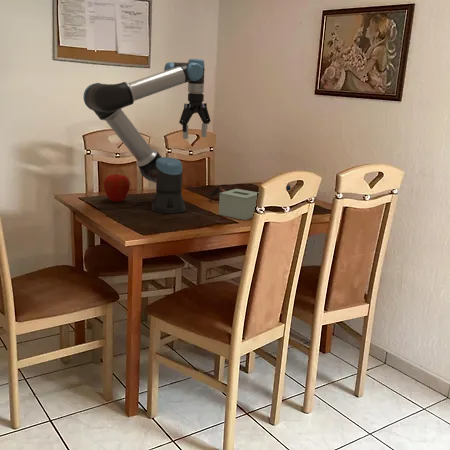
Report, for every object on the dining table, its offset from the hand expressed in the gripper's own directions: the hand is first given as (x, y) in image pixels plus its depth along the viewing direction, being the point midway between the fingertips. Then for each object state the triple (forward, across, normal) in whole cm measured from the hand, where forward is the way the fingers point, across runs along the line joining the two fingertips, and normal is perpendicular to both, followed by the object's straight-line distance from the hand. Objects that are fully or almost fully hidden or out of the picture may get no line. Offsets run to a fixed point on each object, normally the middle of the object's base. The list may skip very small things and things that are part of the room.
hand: (194, 137), depth 258 cm
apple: (+31, -31, +22) cm, 49 cm away
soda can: (+32, +19, -41) cm, 55 cm away
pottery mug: (+32, +9, -10) cm, 34 cm away
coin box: (+31, -6, -34) cm, 46 cm away
